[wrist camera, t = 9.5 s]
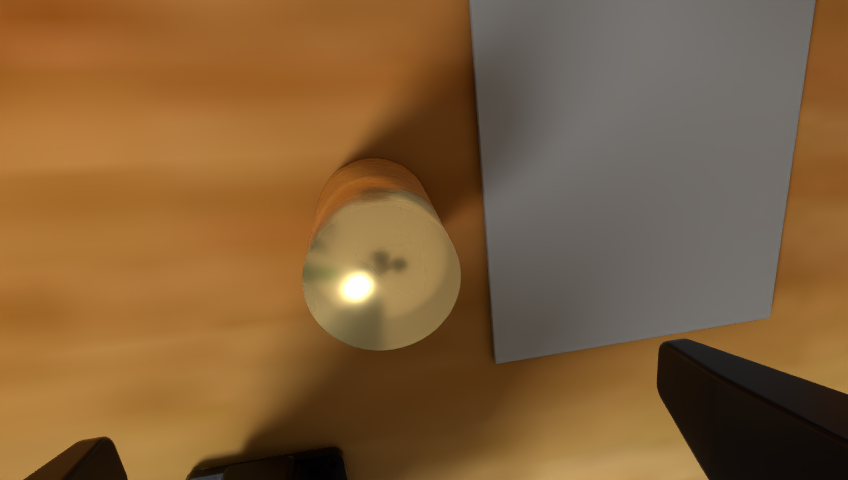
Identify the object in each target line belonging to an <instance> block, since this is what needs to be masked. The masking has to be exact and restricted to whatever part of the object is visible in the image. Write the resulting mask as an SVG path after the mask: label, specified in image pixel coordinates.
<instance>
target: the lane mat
mask: <svg viewBox="0 0 848 480" xmlns="http://www.w3.org/2000/svg"><path fill="white" fill-rule="evenodd" d="M815 2H816V0H469V11H470V25H471V40H472V54H473V68H474V82H475V96H476V110H477V124H478V138H479V152H480V166H481V181H482V195H483V209H484V223H485V237H486V251H487V265H488V279H489V293H490V307H491V321H492V336H493V350H494V361H495V363H496V364H500V363H506V362H512V361H518V360H524V359H530V358H536V357H541V356H547V355H553V354H559V353H565V352H571V351H577V350H583V349H589V348H595V347H600V346H606V345H612V344H618V343H624V342H630V341H636V340H642V339H648V338H654V337H659V336H665V335H671V334H677V333H683V332H689V331H695V330H701V329H707V328H713V327H719V326H724V325H730V324H736V323H742V322H748V321H754V320H760V319H766V318H770V313H771V306H772V299H773V292H774V285H775V279H776V272H777V265H778V258H779V251H780V244H781V237H782V230H783V223H784V216H785V209H786V202H787V196H788V189H789V182H790V175H791V168H792V161H793V154H794V147H795V140H796V133H797V126H798V119H799V113H800V106H801V99H802V92H803V85H804V78H805V71H806V64H807V57H808V50H809V43H810V37H811V30H812V23H813V16H814V9H815Z"/></svg>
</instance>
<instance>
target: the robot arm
mask: <svg viewBox="0 0 848 480" xmlns="http://www.w3.org/2000/svg"><path fill="white" fill-rule="evenodd" d="M657 389H658V392H659V395H660V397H661V399H662V401H663V403H664V404H665V406H666V408H667V409H668V411H669V413H670V415H671V416H672V418H673V420H674V422H675V423H676V425H677V427H678V428H679V430H680V432H681V434H682V435H683V437H684V439H685V441H686V442H687V444H688V446H689V447H690V449H691V451H692V453H693V454H694V456H695V458H696V460H697V461H698V463H699V465H700V466H701V468H702V470H703V471H704V473H705V474H706V476H707V478H708V479H709V480H848V394H845V393H842V392H839V391H837V390H834V389H831V388H828V387H825V386H822V385H819V384H816V383H813V382H811V381H808V380H805V379H802V378H799V377H796V376H793V375H790V374H787V373H785V372H782V371H779V370H776V369H773V368H770V367H767V366H764V365H761V364H759V363H756V362H753V361H750V360H747V359H744V358H741V357H738V356H735V355H733V354H730V353H727V352H724V351H721V350H718V349H715V348H712V347H709V346H707V345H704V344H701V343H698V342H695V341H692V340H689V339H677V340H671V341H666V342H663V343H662V344H661V345H660V347H659V353H658V369H657ZM329 459H335V461H328V460H329ZM24 480H128V479H127V475H126V472H125V470H124V467H123V465H122V462H121V460H120V457H119V455H118V452H117V450H116V447H115V445H114V443H113V441H112V440H111V439H110V438H108V437H98V438H92V439H86V440H81V441H79V442H77V443H75V444H74V445H72V446H71V447H69V448H68V449H67V450H65V451H64V452H62V453H61V454H59V455H58V456H57V457H55V458H54V459H52V460H51V461H49V462H48V463H47V464H45V465H44V466H42V467H41V468H39V469H38V470H37V471H35V472H34V473H32V474H31V475H29V476H28V477H27V478H25V479H24ZM186 480H349V476H348V472H347V467H346V462H345V457H344V453H343V451H342V450H340V449H339V448H336V447H328V448H323V449H317V450H312V451H306V452H300V453H295V454H289V455H283V456H278V457H272V458H267V459H261V460H255V461H250V462H244V463H238V464H233V465H227V466H222V467H216V468H210V469H205V470H199V471H194V472H192V473H190V474H189V475H188V476H187V478H186Z"/></svg>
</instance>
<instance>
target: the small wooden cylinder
mask: <svg viewBox="0 0 848 480" xmlns="http://www.w3.org/2000/svg"><path fill="white" fill-rule="evenodd" d="M460 282H461V269H460V263H459V258H458V255H457V252H456V250H455V248H454V246H453V244H452V242H451V240H450V238H449V236H448V234H447V232H446V230H445V228H444V226H443V224H442V222H441V220H440V219H439V217H438V215H437V213H436V211H435V209H434V207H433V205H432V203H431V201H430V199H429V197H428V195H427V194H426V192H425V190H424V188H423V186H422V184H421V183H420V181H419V180H418V179H417V177H416V176H415V175H414V174H413V173H412V172H411V171H409V170H408V169H407V168H405V167H404V166H402V165H400V164H398V163H396V162H393V161H390V160H386V159H381V158H366V159H361V160H357V161H354V162H351V163H349V164H347V165H345V166H344V167H342V168H341V169H339V170H338V171H337V172H336V173H334V174H333V175H332V176H331V178H330V179H329V180H328V181H327V183H326V184H325V186H324V188H323V190H322V192H321V195H320V198H319V202H318V207H317V211H316V215H315V220H314V224H313V228H312V233H311V237H310V242H309V246H308V250H307V255H306V259H305V264H304V269H303V291H304V296H305V300H306V303H307V305H308V308H309V310H310V312H311V314H312V315H313V317H314V318H315V320H316V321H317V322H318V323H319V325H320V326H321V327H322V328H323V329H324V330H325V331H327V332H328V333H329V334H330V335H332V336H333V337H335V338H336V339H338V340H340V341H342V342H343V343H345V344H348V345H351V346H353V347H357V348H361V349H366V350H393V349H397V348H402V347H405V346H408V345H411V344H413V343H416V342H418V341H420V340H422V339H423V338H425V337H426V336H428V335H430V334H431V333H432V332H433V331H434V330H436V329H437V328H438V327H439V326H440V325H441V324H442V323H443V322H444V320H445V319H446V318H447V316H448V315H449V314H450V312H451V310H452V308H453V307H454V305H455V302H456V300H457V297H458V293H459V290H460Z"/></svg>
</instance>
